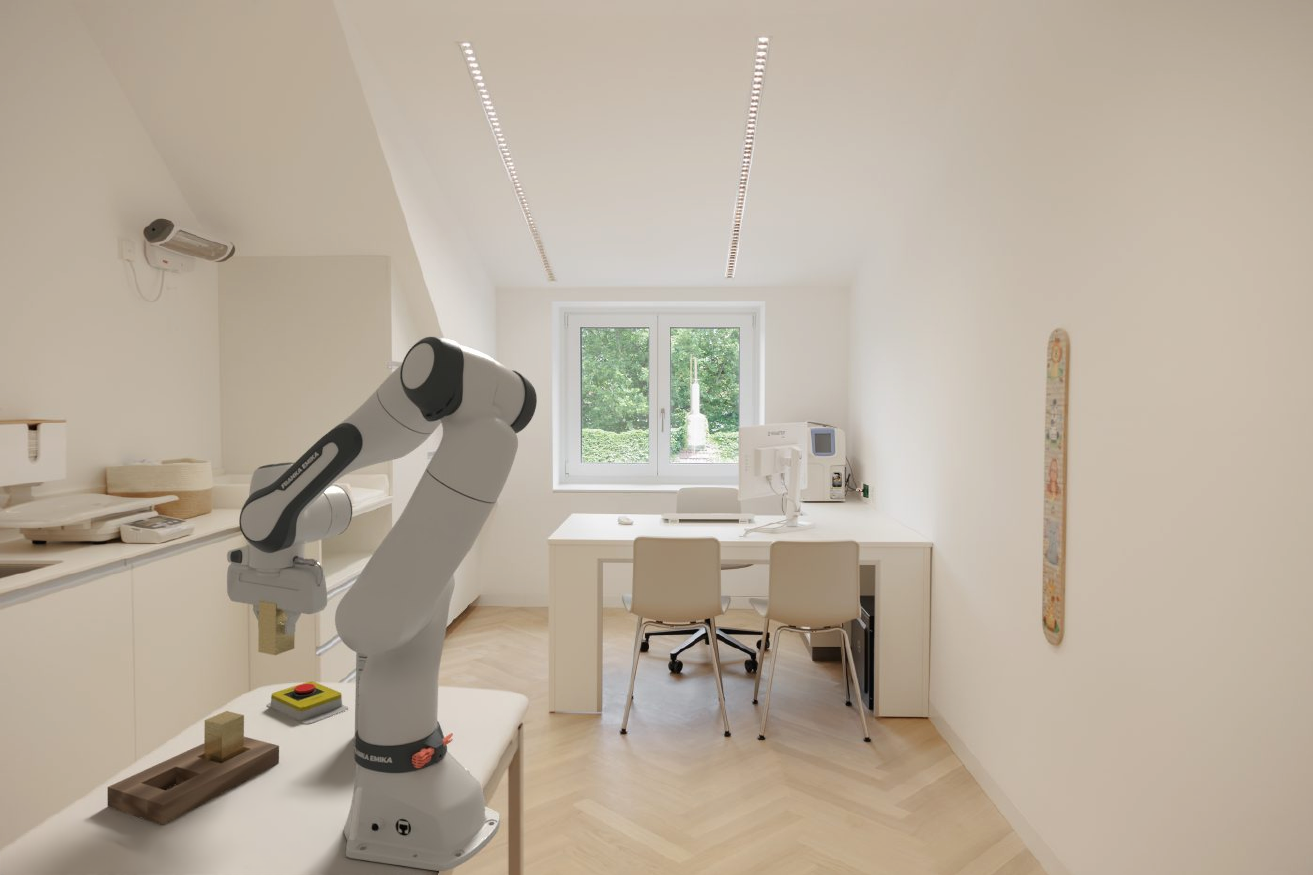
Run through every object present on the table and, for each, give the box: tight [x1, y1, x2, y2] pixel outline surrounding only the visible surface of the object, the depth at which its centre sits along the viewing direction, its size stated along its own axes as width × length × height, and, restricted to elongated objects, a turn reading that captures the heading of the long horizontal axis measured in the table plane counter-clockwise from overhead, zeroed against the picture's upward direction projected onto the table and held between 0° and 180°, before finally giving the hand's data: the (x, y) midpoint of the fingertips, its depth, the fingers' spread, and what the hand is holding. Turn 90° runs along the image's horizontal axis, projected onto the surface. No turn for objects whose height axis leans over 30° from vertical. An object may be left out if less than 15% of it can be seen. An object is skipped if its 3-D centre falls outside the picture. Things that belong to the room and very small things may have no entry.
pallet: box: [107, 736, 280, 826], centre depth 116 cm, size 12×20×3 cm, turn 159°
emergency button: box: [266, 681, 349, 725], centre depth 145 cm, size 9×4×15 cm
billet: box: [257, 601, 296, 656], centre depth 128 cm, size 4×4×9 cm
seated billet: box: [203, 710, 245, 763], centre depth 120 cm, size 4×4×9 cm
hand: (276, 631), depth 128 cm, fingers closed on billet, 4 cm apart
